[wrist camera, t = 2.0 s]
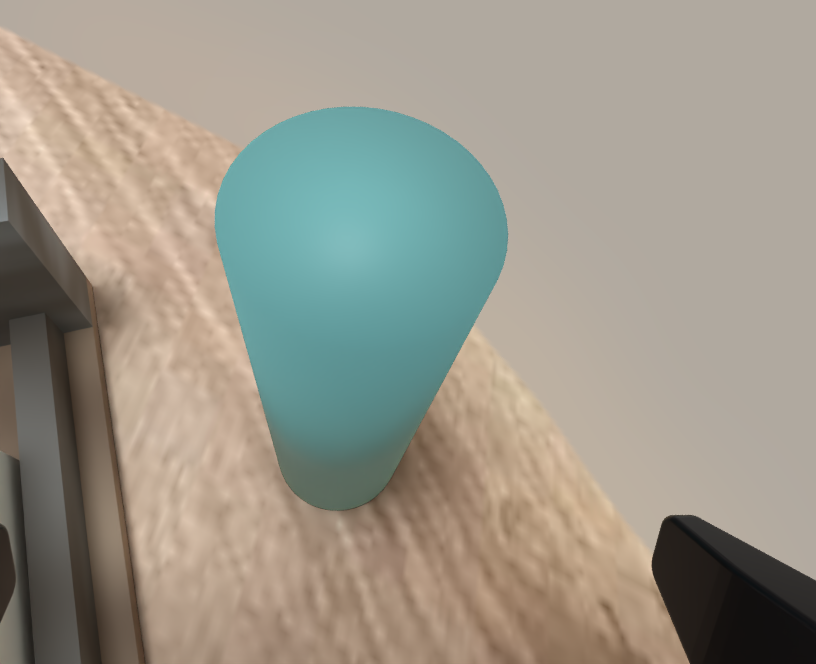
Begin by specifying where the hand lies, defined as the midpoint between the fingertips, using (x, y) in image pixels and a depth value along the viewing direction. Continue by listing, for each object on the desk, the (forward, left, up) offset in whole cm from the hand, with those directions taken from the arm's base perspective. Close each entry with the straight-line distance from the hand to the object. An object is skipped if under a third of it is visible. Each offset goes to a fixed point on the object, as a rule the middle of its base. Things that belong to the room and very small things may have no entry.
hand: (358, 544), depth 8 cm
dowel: (+4, -1, -11) cm, 12 cm away
